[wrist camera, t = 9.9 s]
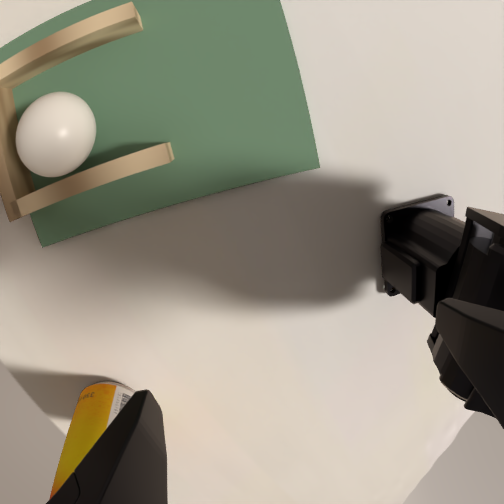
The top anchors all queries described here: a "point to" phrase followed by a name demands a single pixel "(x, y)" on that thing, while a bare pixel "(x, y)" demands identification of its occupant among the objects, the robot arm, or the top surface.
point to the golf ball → (55, 134)
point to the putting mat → (176, 106)
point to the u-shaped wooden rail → (5, 120)
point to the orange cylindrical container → (89, 424)
